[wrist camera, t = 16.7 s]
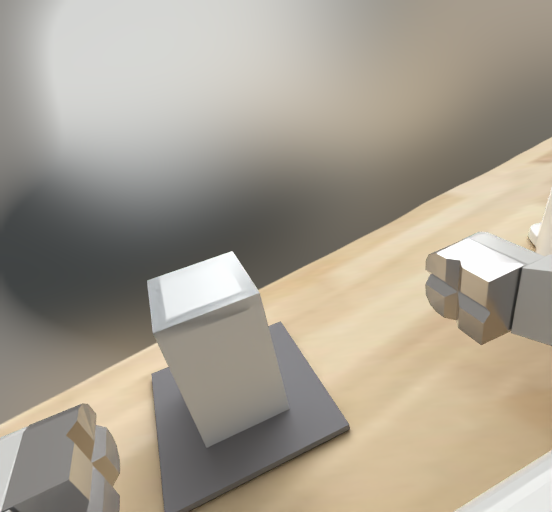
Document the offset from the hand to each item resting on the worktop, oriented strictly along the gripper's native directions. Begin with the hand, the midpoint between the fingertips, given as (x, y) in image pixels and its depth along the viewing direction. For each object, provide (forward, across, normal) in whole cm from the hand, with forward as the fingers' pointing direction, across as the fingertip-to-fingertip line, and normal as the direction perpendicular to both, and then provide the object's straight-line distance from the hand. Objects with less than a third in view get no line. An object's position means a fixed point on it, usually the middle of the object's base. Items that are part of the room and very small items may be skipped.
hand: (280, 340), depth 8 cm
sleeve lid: (+13, +2, +16) cm, 21 cm away
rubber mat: (+13, +2, +16) cm, 21 cm away
